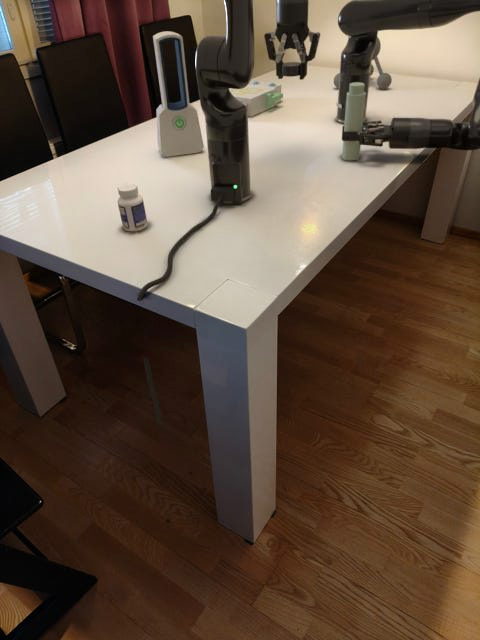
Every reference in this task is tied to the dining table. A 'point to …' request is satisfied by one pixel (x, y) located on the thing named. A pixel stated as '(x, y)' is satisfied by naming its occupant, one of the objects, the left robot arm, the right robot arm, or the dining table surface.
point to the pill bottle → (131, 208)
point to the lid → (290, 69)
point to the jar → (353, 119)
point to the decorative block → (258, 96)
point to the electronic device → (176, 106)
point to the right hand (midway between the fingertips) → (342, 133)
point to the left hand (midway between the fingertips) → (291, 78)
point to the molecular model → (383, 79)
